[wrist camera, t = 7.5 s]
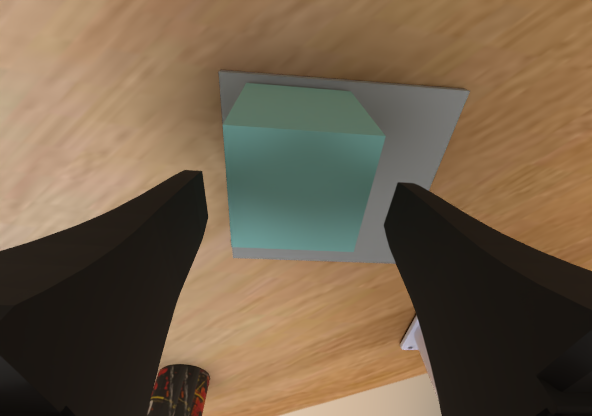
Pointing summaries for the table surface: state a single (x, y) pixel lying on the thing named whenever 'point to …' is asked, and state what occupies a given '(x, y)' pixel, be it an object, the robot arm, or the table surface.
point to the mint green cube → (299, 167)
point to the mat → (394, 157)
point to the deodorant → (179, 391)
